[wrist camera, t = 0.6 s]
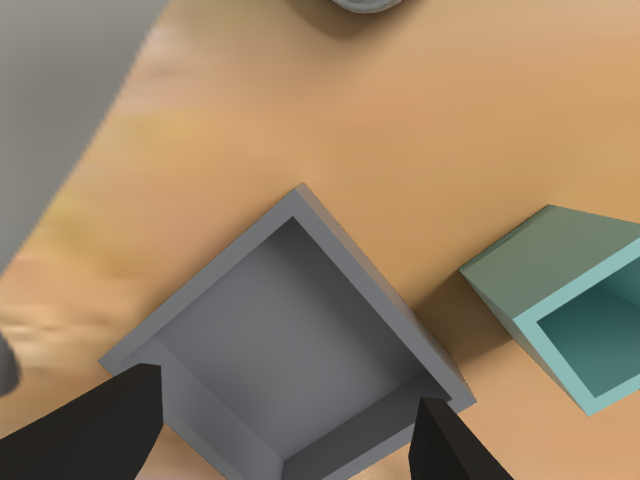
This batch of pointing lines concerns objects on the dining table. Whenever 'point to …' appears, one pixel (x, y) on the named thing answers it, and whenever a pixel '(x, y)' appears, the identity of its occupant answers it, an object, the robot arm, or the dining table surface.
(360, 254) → the big crate
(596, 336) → the small crate
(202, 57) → the dining table surface
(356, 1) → the ceramic mug
